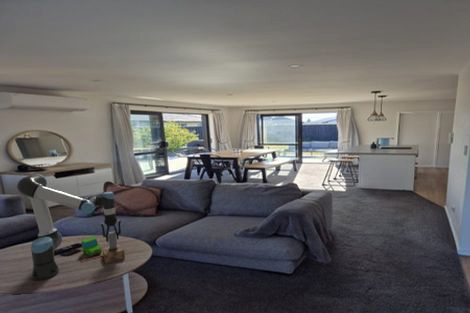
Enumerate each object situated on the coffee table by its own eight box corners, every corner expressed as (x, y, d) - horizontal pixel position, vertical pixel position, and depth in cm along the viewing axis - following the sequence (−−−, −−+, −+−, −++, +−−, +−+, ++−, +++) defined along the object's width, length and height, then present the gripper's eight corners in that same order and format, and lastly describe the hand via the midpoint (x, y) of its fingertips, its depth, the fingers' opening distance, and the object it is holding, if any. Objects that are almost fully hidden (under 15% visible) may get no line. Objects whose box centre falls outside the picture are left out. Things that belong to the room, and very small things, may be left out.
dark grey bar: (110, 254, 210) (108, 234, 208) (110, 252, 214) (108, 232, 212) (117, 252, 212) (115, 232, 210) (116, 250, 216) (114, 230, 214)
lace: (81, 262, 206) (80, 261, 206) (79, 260, 209) (79, 259, 209) (106, 254, 217) (106, 254, 217) (105, 253, 220) (105, 252, 220)
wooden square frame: (105, 262, 205) (104, 254, 204) (103, 255, 216) (102, 248, 215) (124, 258, 211) (124, 250, 210) (121, 251, 222) (121, 243, 222)
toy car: (90, 258, 213) (88, 245, 212) (81, 253, 221) (80, 241, 220) (103, 253, 221) (102, 240, 220) (94, 249, 229) (93, 236, 228)
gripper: (97, 217, 202) (100, 249, 205) (123, 212, 211) (126, 243, 213) (96, 214, 209) (99, 245, 211) (122, 209, 217) (124, 240, 220)
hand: (112, 244), depth 212 cm, fingers closed on dark grey bar, 4 cm apart
